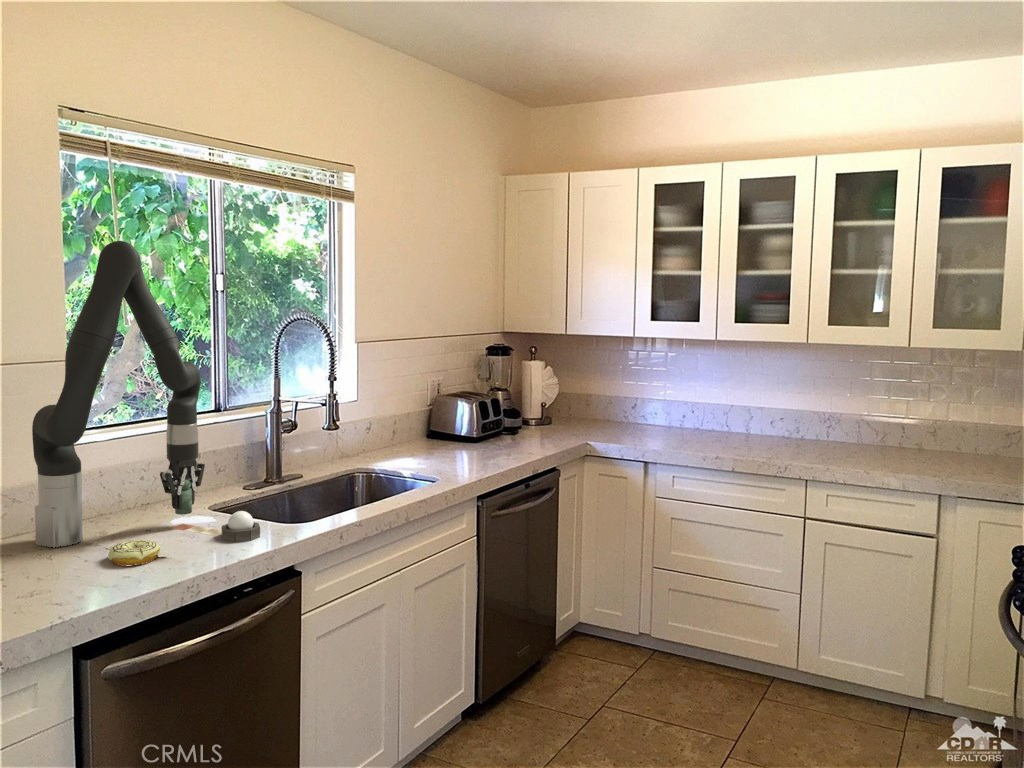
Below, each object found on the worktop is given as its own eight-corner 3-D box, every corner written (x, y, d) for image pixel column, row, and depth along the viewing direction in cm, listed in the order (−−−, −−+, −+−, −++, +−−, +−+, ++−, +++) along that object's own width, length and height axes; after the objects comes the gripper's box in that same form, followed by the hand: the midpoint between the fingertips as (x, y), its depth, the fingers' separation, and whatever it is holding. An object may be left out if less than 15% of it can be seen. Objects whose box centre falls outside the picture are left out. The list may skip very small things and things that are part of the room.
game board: (242, 549, 200) (242, 534, 200) (161, 535, 209) (161, 520, 209) (268, 538, 210) (268, 523, 209) (189, 525, 219) (189, 511, 218)
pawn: (183, 515, 210) (182, 480, 209) (171, 513, 212) (171, 478, 211) (195, 511, 214) (194, 477, 213) (183, 509, 216) (183, 475, 215)
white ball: (242, 539, 203) (242, 515, 202) (222, 536, 205) (222, 512, 204) (258, 533, 208) (258, 510, 208) (239, 530, 210) (239, 507, 210)
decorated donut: (100, 567, 185) (99, 550, 185) (122, 552, 196) (122, 536, 195) (146, 568, 185) (146, 552, 185) (166, 553, 196) (166, 538, 195)
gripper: (173, 446, 203) (175, 515, 205) (213, 437, 216) (214, 501, 218) (149, 443, 205) (151, 511, 207) (190, 434, 219) (191, 498, 221)
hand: (183, 506), depth 213 cm, fingers closed on pawn, 4 cm apart
